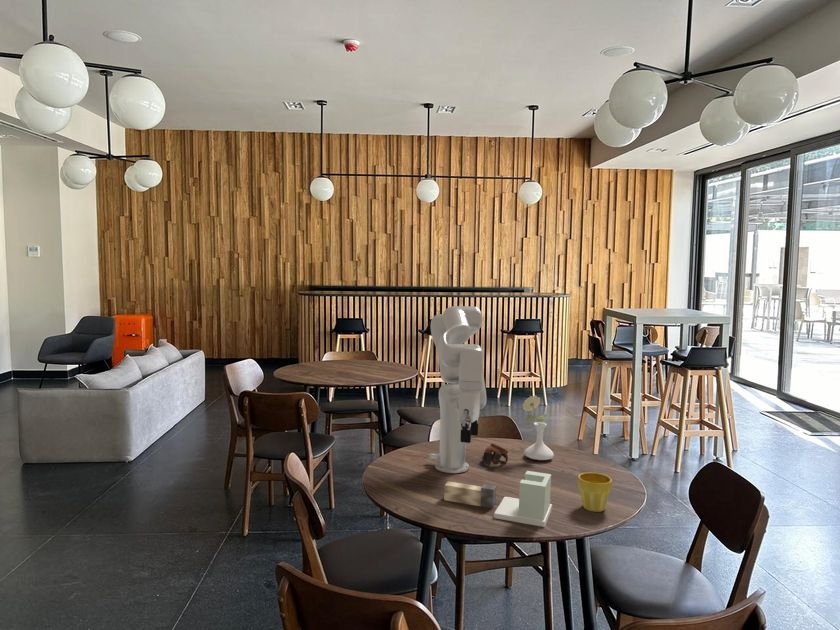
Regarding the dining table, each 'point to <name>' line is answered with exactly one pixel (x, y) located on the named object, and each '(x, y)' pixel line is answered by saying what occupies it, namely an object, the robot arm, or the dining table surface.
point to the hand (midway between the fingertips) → (469, 438)
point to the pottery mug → (494, 454)
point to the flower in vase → (538, 448)
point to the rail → (471, 494)
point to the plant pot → (594, 490)
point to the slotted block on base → (528, 501)
